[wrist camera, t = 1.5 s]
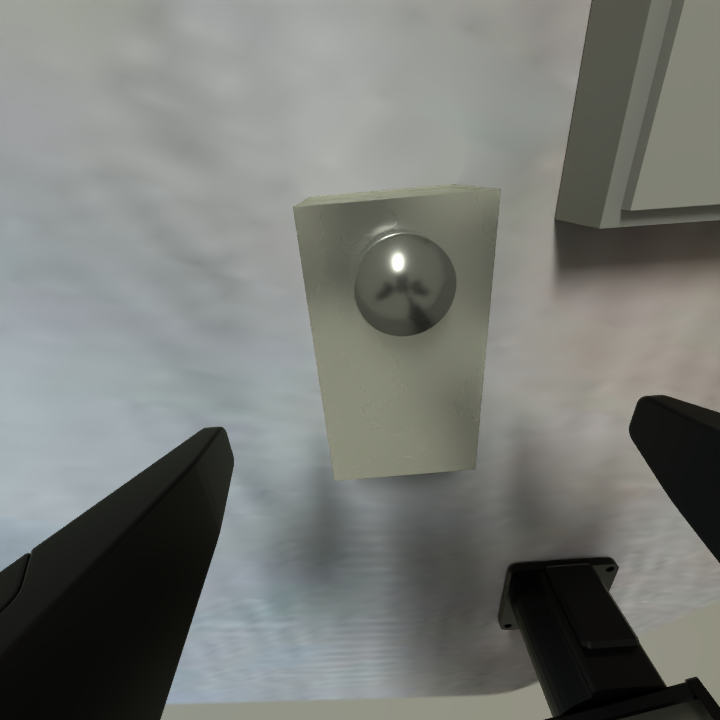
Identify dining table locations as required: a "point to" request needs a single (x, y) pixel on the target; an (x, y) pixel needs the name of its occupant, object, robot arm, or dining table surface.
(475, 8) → the dining table surface
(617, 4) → the stand
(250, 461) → the dining table surface
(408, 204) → the block
